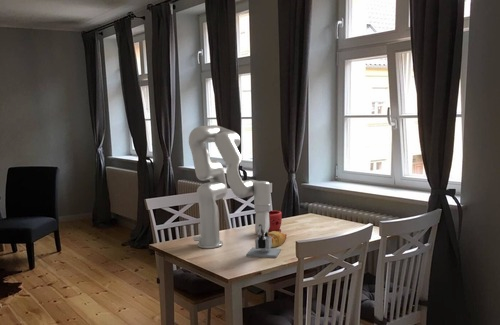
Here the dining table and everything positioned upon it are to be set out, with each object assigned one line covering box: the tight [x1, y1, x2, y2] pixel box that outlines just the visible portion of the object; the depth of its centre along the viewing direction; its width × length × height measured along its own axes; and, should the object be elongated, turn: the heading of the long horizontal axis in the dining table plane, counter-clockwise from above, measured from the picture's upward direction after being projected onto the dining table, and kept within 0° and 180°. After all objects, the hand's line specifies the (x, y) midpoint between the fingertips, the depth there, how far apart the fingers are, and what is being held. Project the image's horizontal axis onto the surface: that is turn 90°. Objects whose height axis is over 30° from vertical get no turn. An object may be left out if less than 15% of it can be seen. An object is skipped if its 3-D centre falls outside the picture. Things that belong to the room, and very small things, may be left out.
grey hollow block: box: [254, 236, 272, 250], centre depth 212 cm, size 6×6×4 cm
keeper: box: [245, 237, 282, 259], centre depth 212 cm, size 14×11×8 cm
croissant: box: [267, 231, 288, 248], centre depth 227 cm, size 21×10×8 cm, turn 141°
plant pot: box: [261, 210, 283, 233], centre depth 247 cm, size 13×13×12 cm
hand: (263, 245), depth 212 cm, fingers closed on grey hollow block, 6 cm apart
